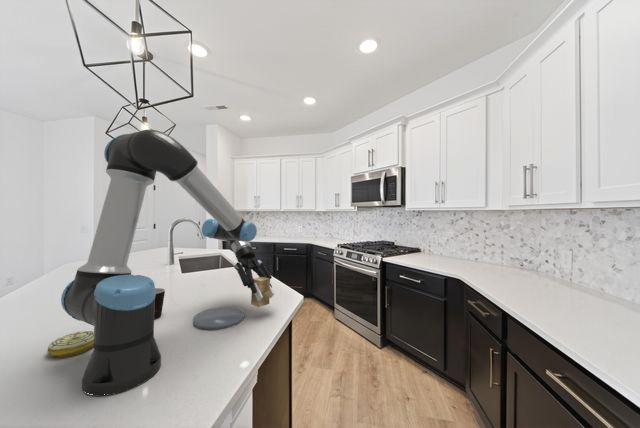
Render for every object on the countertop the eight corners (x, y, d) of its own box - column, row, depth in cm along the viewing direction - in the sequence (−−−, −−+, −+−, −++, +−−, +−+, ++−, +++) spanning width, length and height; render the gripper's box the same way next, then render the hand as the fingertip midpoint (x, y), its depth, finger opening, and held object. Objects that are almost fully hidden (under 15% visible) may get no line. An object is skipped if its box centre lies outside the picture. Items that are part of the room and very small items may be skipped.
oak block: (259, 307, 94) (259, 280, 94) (251, 304, 97) (252, 278, 98) (269, 304, 98) (270, 278, 98) (261, 301, 101) (262, 276, 101)
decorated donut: (103, 337, 79) (104, 325, 79) (91, 354, 69) (91, 341, 69) (59, 344, 74) (59, 332, 74) (39, 363, 65) (40, 349, 65)
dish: (207, 335, 81) (208, 330, 81) (184, 320, 92) (184, 316, 92) (253, 318, 95) (253, 314, 95) (228, 307, 106) (228, 303, 106)
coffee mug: (169, 313, 98) (170, 288, 98) (152, 323, 89) (153, 295, 90) (142, 312, 99) (143, 287, 99) (123, 321, 91) (124, 293, 91)
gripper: (256, 254, 115) (279, 297, 104) (220, 258, 101) (242, 308, 90) (264, 244, 112) (288, 287, 101) (227, 246, 98) (251, 297, 87)
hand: (266, 297), depth 95 cm, fingers closed on oak block, 5 cm apart
